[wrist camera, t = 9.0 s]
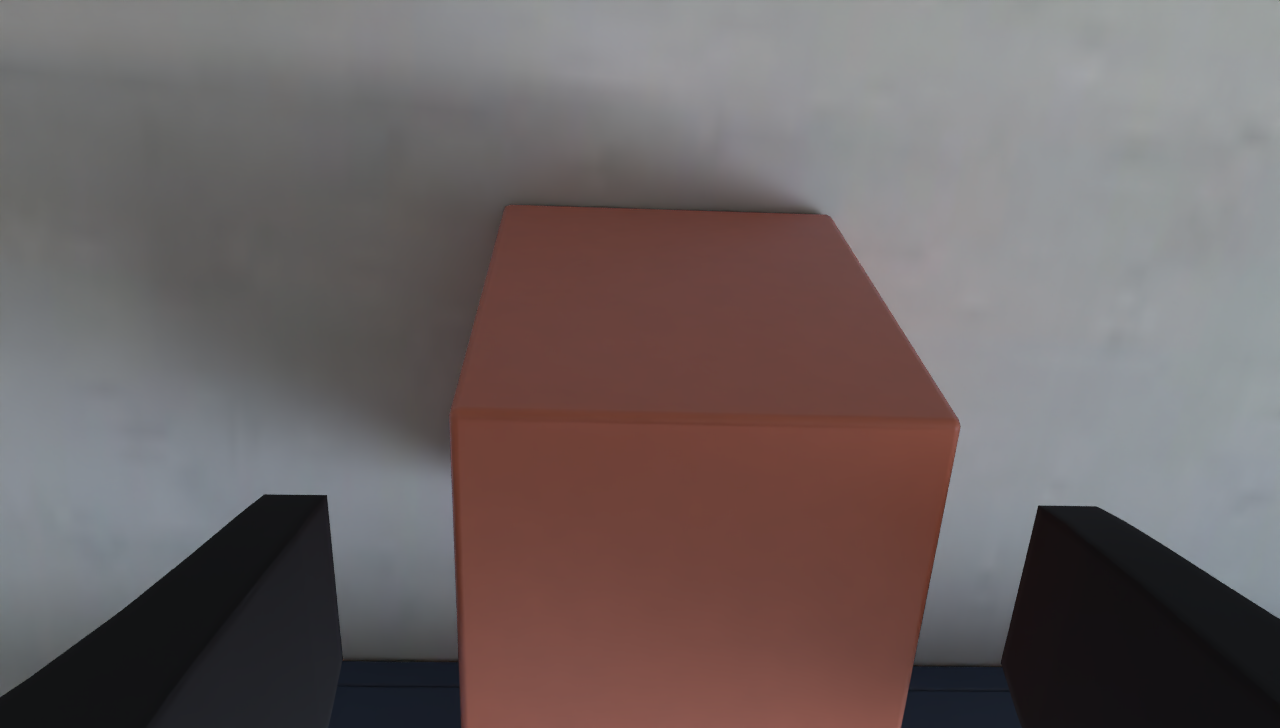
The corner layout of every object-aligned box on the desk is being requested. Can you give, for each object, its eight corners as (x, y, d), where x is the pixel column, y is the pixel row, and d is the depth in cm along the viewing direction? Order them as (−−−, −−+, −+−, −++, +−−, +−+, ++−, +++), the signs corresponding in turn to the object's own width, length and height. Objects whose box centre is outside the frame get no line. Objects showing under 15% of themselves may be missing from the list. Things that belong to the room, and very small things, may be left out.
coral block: (507, 484, 16) (462, 793, 11) (504, 202, 15) (447, 410, 9) (796, 489, 17) (891, 795, 11) (831, 212, 15) (965, 422, 9)
